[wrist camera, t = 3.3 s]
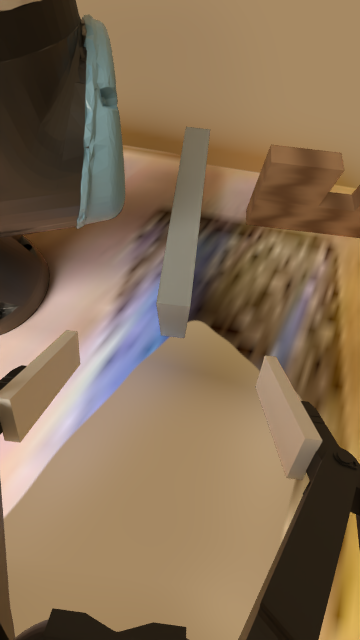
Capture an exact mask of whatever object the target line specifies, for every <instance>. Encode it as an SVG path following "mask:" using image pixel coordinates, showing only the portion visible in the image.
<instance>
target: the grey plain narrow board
mask: <svg viewBox="0 0 360 640" xmlns="http://www.w3.org/2000/svg"><path fill="white" fill-rule="evenodd" d="M209 136H210V130H209V129H200V128H192V127H186V130H185V136H184V142H183V148H182V154H181V160H180V166H179V172H178V177H177V183H176V189H175V195H174V201H173V207H172V213H171V219H170V225H169V231H168V237H167V243H166V249H165V255H164V261H163V267H162V272H161V278H160V284H159V290H158V296H157V302H156V304H157V311H158V318H159V325H160V332H161V335H162V336H170V337H178V338H184V337H185V331H186V327H187V321H188V316H189V311H190V304H191V295H192V287H193V278H194V269H195V260H196V251H197V242H198V233H199V224H200V216H201V207H202V198H203V189H204V180H205V171H206V162H207V153H208V145H209Z"/></svg>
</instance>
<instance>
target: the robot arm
mask: <svg viewBox="0 0 360 640" xmlns="http://www.w3.org/2000/svg"><path fill="white" fill-rule="evenodd" d="M124 201H125V174H124V158H123V146H122V134H121V125H120V116H119V111H118V107H117V93H116V80H115V71H114V63H113V57H112V50H111V44H110V39H109V36H108V32H107V29H106V27H105V26H104V24H103V23H102V22H100V21H98V20H95V19H93V17H92V16H90V15H84V17H82V19H80V16H79V14H78V9H77V5H76V0H0V335H1V334H3V333H6V332H8V331H10V330H12V329H14V328H15V327H17V326H19V325H20V324H21V323H23V322H24V321H25V320H27V319H28V318H29V317H30V316H31V315H32V314H33V313H34V312H35V310H36V309H37V308H38V307H39V305H40V304H41V302H42V300H43V299H44V296H45V294H46V292H47V288H48V284H49V269H48V265H47V263H46V260H45V259H44V257H43V256H42V254H41V253H40V252H39V251H38V250H37V248H36V247H35V246H34V245H33V244H32V243H31V242H30V241H29V240H28V239H27V238H25V237H24V236H22V235H23V234H30V233H37V232H43V231H50V230H57V229H64V228H71V227H76V228H81V227H83V226H84V225H85V224H90V223H95V222H100V221H105V220H110V219H112V218H115V217H116V216H117V215H118V214H119V213H120V211H121V210H122V208H123V206H124ZM79 365H80V356H79V343H78V332H77V331H69V330H66V331H65V332H64V333H63V334H62V335H61V336H60V337H59V338H58V339H57V340H55V341H54V342H53V343H52V344H51V345H50V346H49V347H48V348H47V349H46V350H44V351H43V352H42V353H41V354H40V355H39V356H38V357H37V358H36V359H35V360H33V361H32V362H31V363H30V364H29V365H28V366H23V365H21V366H19V367H17V368H15V369H13V370H12V371H10V372H9V373H8V374H7V375H6V376H5V377H3V378H2V379H1V380H0V434H1V433H2V432H3V436H4V439H5V441H12V442H21V441H22V440H23V438H24V437H25V436H26V434H27V433H28V432H29V430H30V429H31V428H32V426H33V425H34V424H35V423H36V421H37V420H38V419H39V417H40V416H41V415H42V413H43V412H44V411H45V410H46V408H47V407H48V406H49V404H50V403H51V402H52V400H53V399H54V398H55V396H56V395H57V394H58V393H59V391H60V390H61V389H62V387H63V386H64V385H65V383H66V382H67V381H68V379H69V378H70V377H71V376H72V374H73V373H74V372H75V370H76V369H77V368H78V366H79ZM255 387H256V390H257V393H258V396H259V399H260V402H261V404H262V408H263V411H264V414H265V417H266V419H267V422H268V425H269V428H270V431H271V434H272V437H273V440H274V443H275V446H276V449H277V452H278V455H279V458H280V461H281V463H282V466H283V469H284V472H285V475H286V478H291V479H298V480H302V479H303V477H304V476H305V474H306V472H307V475H308V477H309V479H310V482H309V483H308V485H307V487H306V489H305V491H304V493H303V497H302V499H301V501H300V503H299V506H298V508H297V510H296V512H295V514H294V517H293V519H292V521H291V523H290V526H289V528H288V530H287V532H286V534H285V537H284V539H283V541H282V543H281V546H280V548H279V550H278V552H277V555H276V557H275V559H274V561H273V564H272V566H271V568H270V570H269V572H268V575H267V577H266V579H265V581H264V583H263V586H262V588H261V590H260V592H259V595H258V597H257V599H256V601H255V604H254V606H253V608H252V610H251V612H250V615H249V617H248V619H247V621H246V624H245V626H244V628H243V630H242V632H241V635H240V637H239V639H238V640H318V639H319V635H320V631H321V627H322V623H323V619H324V615H325V611H326V607H327V603H328V599H329V595H330V591H331V587H332V583H333V579H334V575H335V571H336V567H337V563H338V558H339V554H340V550H341V546H342V542H343V538H344V534H345V530H346V526H347V522H348V518H349V514H350V512H352V513H354V514H356V520H357V529H358V539H359V548H360V464H359V463H358V461H357V460H356V458H355V457H354V456H353V455H352V454H350V453H349V452H348V451H346V450H344V449H342V448H340V447H339V446H338V444H337V442H336V441H335V439H334V437H333V436H332V434H331V432H330V431H329V429H328V428H327V426H326V425H325V423H324V421H323V419H322V418H321V416H320V415H319V413H318V411H317V410H316V408H314V407H313V406H312V405H311V404H310V403H309V402H305V401H300V399H299V397H298V396H297V394H296V392H295V390H294V388H293V387H292V385H291V383H290V381H289V379H288V378H287V376H286V374H285V372H284V370H283V369H282V367H281V365H280V363H279V361H278V360H277V358H276V357H273V356H265V357H264V360H263V364H262V367H261V370H260V374H259V377H258V380H257V383H256V386H255ZM0 640H189V639H187V638H186V627H182V626H174V625H167V624H160V623H150V624H146V625H143V626H139V627H136V628H132V629H128V630H124V631H121V632H115V631H113V630H111V629H110V628H108V627H107V626H105V625H104V624H102V623H100V622H99V621H97V620H95V619H94V618H92V617H91V616H89V615H88V614H86V613H82V612H74V611H67V610H60V609H52V612H51V614H50V618H49V620H45V621H42V622H40V623H38V624H35V625H33V626H32V627H30V628H29V629H27V630H25V631H24V632H22V633H21V634H20V635H18V636H17V637H15V634H14V626H13V619H12V615H11V610H10V601H9V590H8V575H7V563H6V548H5V536H4V522H3V508H2V495H1V481H0Z"/></svg>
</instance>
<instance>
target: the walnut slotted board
mask: <svg viewBox="0 0 360 640" xmlns="http://www.w3.org/2000/svg"><path fill="white" fill-rule="evenodd" d="M343 172H344V165H343V160H342V154H341V153H337V152H329V151H320V150H312V149H303V148H295V147H286V146H278V145H271V146H270V149H269V152H268V154H267V157H266V159H265V162H264V165H263V167H262V170H261V173H260V175H259V178H258V180H257V183H256V186H255V188H254V191H253V194H252V196H251V199H250V202H249V204H248V207H247V210H246V224H247V225H256V226H264V227H272V228H281V229H289V230H298V231H306V232H314V233H323V234H331V235H339V236H348V237H356V238H360V185H359V187H358V188H357V189H356V190H355V191H354V193H353V194H352V195H349V194H341V193H332V192H329V191H330V190H331V188H332V187H333V186H334V184H335V183H336V181H337V180H338V179H339V177H340V176H341V175H342V173H343Z"/></svg>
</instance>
